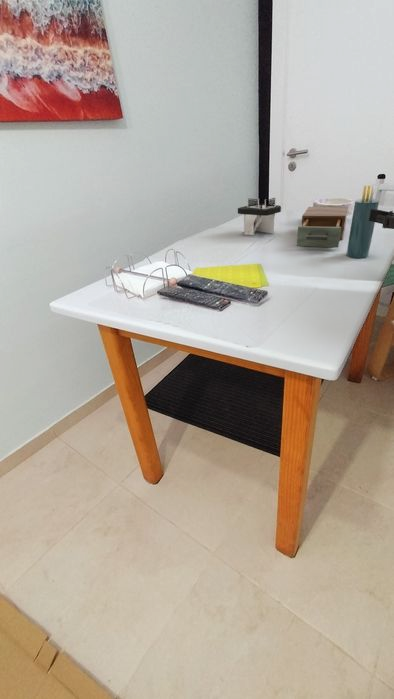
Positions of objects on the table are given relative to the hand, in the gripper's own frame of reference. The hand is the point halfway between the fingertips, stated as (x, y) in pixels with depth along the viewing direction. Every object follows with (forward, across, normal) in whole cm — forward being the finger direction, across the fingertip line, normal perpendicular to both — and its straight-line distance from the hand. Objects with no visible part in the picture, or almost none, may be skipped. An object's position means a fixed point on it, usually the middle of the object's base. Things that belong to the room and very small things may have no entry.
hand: (393, 211), depth 85 cm
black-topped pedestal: (+49, -12, -14) cm, 52 cm away
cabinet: (+36, +7, -14) cm, 39 cm away
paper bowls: (+50, +21, -14) cm, 56 cm away
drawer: (+24, -3, -13) cm, 28 cm away
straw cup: (+10, 0, -14) cm, 17 cm away
